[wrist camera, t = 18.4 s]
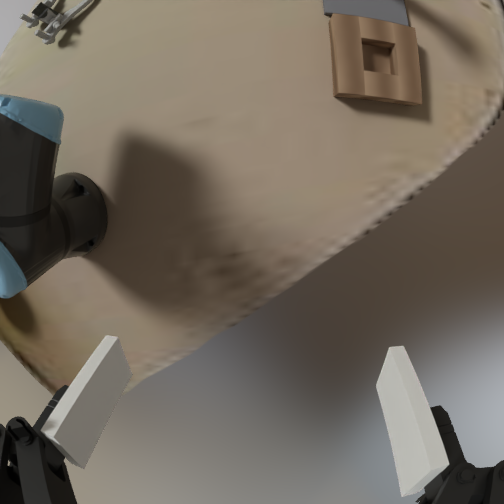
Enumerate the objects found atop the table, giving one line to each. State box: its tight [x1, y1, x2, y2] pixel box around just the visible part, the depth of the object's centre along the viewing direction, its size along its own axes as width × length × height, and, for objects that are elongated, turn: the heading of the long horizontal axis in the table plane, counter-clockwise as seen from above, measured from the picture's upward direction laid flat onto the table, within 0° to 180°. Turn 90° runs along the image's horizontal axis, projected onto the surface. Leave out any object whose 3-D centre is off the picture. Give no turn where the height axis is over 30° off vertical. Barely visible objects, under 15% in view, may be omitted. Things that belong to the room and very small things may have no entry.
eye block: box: [329, 13, 422, 106], centre depth 30 cm, size 12×12×4 cm
